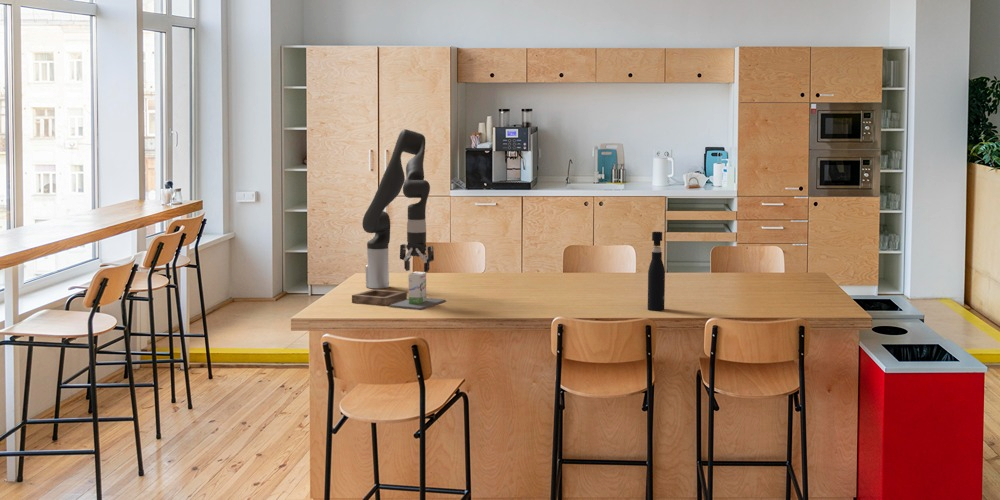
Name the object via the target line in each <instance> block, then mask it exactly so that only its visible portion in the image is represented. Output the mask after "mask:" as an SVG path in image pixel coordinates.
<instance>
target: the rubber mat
mask: <svg viewBox="0 0 1000 500" xmlns="http://www.w3.org/2000/svg"><path fill="white" fill-rule="evenodd" d="M445 302H447V300H446V299H444V298H443V299H441V298H430V297H426V301H425V302H423V303H421V304H409V298H407V299H406V300H403V301H400V302H396V303H393V304H390V305H389V308H397V309H406V310H418V311H420V310H425V309H427V308H431V307H434V306H437V305H439V304H443V303H445Z"/></svg>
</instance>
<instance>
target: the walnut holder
mask: <svg viewBox="0 0 1000 500" xmlns="http://www.w3.org/2000/svg"><path fill="white" fill-rule="evenodd" d="M405 300H408V295H407V291H398V290H386V289H385V290H384V289H376V288H372V289H370V290H366V291H362V292H358V293H356V294H351V303H353V304H363V305H373V306H374V305H376V306H390V305H392V304H395V303H398V302H401V301H405Z"/></svg>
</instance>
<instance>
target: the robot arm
mask: <svg viewBox="0 0 1000 500" xmlns="http://www.w3.org/2000/svg"><path fill="white" fill-rule="evenodd" d="M425 150H426V137H425V135H424V134H423V133H420V132H416V131H413V130H410V129H406V128H404V129H402V130H401V131H400V133H399V134H398V137H397V140H396V142H395V146H394V148H393V150H392V151H393V152H392V154H391V156H390V160H389V161H388V164H387V166H386V169H385V171H384V173H383V176H382V177H381V179H380V183H379V184H378V188H377V191H376V192H375V194H374V196H373V199H372V201H371V202H370V204H369V206H368V208H367V210H366V211H365V213H364V216H363V218H362V224H361V225H362V229H363V231H364V232H366V233H367V234H374V236H373V238H371V239H370V240H368V241H367V243H366V254H367V258H366V259H367V265H365V288H369V289H387V288H389V287H390V274H389V273H390V271H389V270H390V268H389V267H390V263H389V261H390V260H389V259H390V258H389V254H390V253H389V244H390V242H391V241H390V240H391V218H390V215H389V213H387V211H384V210H385V209H386V208H387V207H388V206H389V205H390V204H391V203H392V202H393V201H394V200H395V199H396V198H397V197H398V196H399V195H400V192H401V190H402V193H403V195H404V197H405V198H408V199H420V200H419V201H418V202H415V203H411V204H408V206H407V222H406V243H407V244H405V243H403V244H400V245H399V247H400V248H399V252H400V253H399V260H402V261H404V270H405V272H407V271H410V270H411V264H410V263H411V261H410V259H411V258H412V257H416V258H417V257H418V258H419V257H420V259H421V260H422V261H423V272H426V273H429V271H430V263H431V262H433V261H435V255H434V254H435V253H434V246H433V245H428V246H427V245H426V244H427V222H426V221H427V220H426V211H427V210H426V209H427V208H426V207H427V201H428V198H429V195H430V191H431V185H430V183H429V181H427V180H426V179H425V171H424V161H425V152H426V151H425ZM403 152H404V153H407V154H411V155H413V157H412V158H411V159H409V160H408V161H407V163H406V166H405V172H404V168H403V165H402V158H401V157H402V153H403ZM405 173H406V176H405ZM407 251H408V252H407Z"/></svg>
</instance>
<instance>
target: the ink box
mask: <svg viewBox="0 0 1000 500" xmlns="http://www.w3.org/2000/svg"><path fill="white" fill-rule="evenodd" d="M407 277H408V299H409V304H421V303H423V302H425V301H426V298H427V272H424V271H413V272H411V273H409V274H408V276H407Z"/></svg>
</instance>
